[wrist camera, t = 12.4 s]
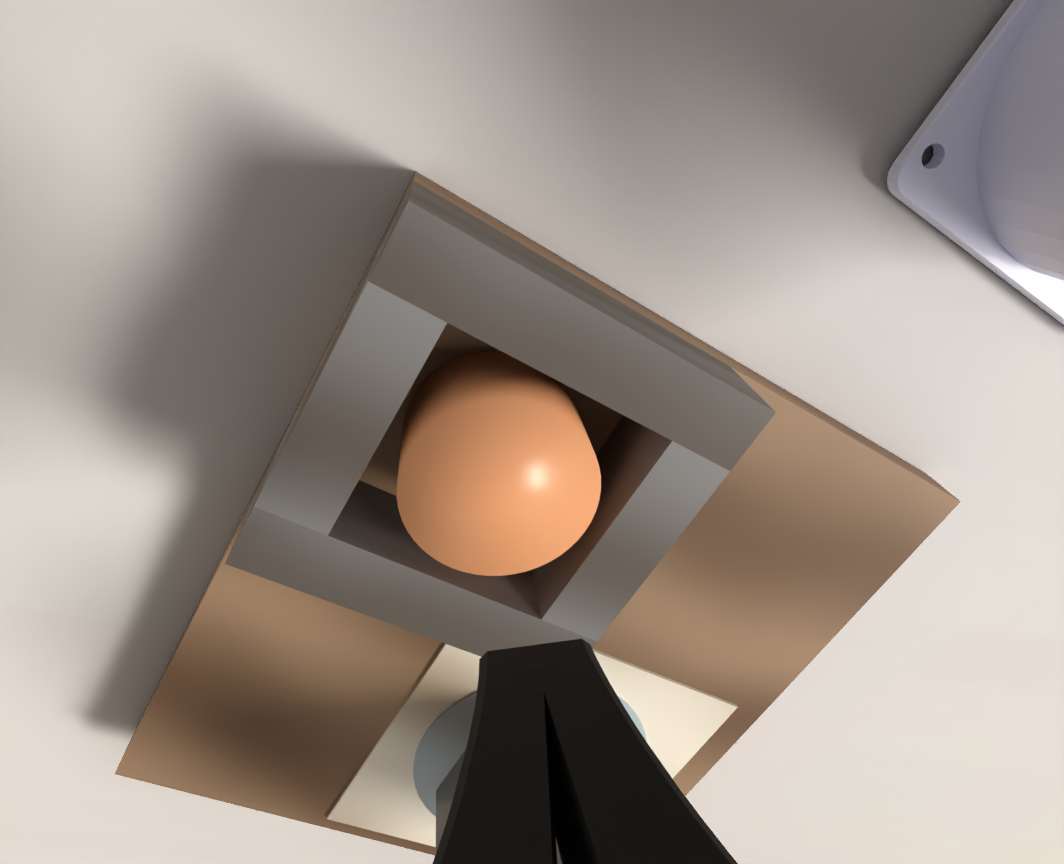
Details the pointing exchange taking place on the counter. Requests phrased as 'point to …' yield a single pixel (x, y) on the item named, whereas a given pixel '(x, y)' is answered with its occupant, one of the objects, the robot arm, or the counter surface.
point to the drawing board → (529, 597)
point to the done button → (495, 466)
